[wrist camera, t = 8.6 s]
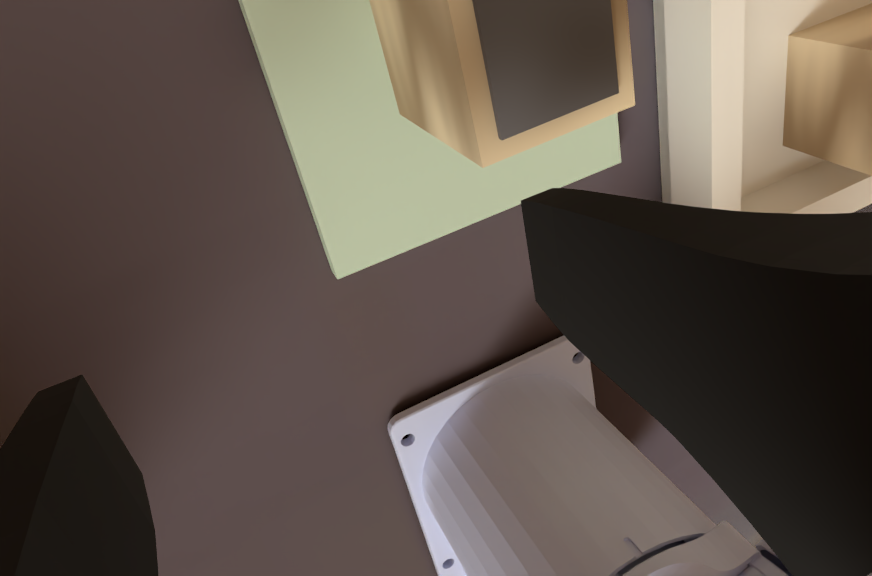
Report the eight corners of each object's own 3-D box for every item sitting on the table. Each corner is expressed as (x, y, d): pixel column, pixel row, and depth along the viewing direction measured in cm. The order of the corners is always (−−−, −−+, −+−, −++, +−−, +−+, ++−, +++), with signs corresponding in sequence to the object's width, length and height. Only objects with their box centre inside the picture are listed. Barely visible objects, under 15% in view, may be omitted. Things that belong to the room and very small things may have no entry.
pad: (610, 157, 24) (621, 162, 23) (331, 270, 22) (337, 279, 21) (570, -295, 18) (584, -301, 17) (167, -204, 15) (170, -207, 15)
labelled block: (525, 66, 21) (639, 106, 16) (399, 114, 20) (486, 170, 15) (501, -87, 18) (624, -85, 14) (358, -42, 17) (445, -25, 13)
